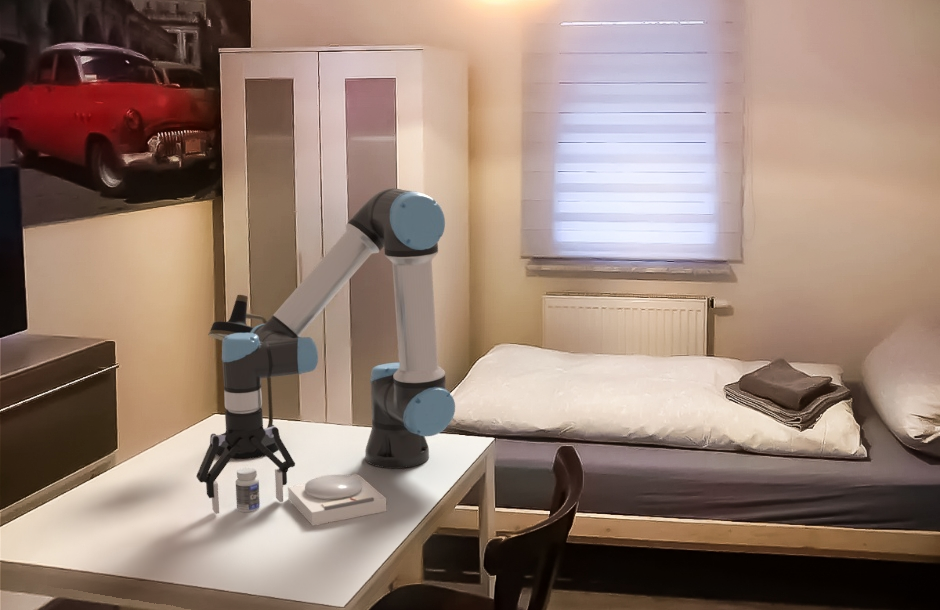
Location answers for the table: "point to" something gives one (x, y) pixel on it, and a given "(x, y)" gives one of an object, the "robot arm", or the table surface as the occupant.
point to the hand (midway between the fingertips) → (248, 505)
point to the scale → (336, 498)
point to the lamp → (239, 326)
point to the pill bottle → (247, 490)
